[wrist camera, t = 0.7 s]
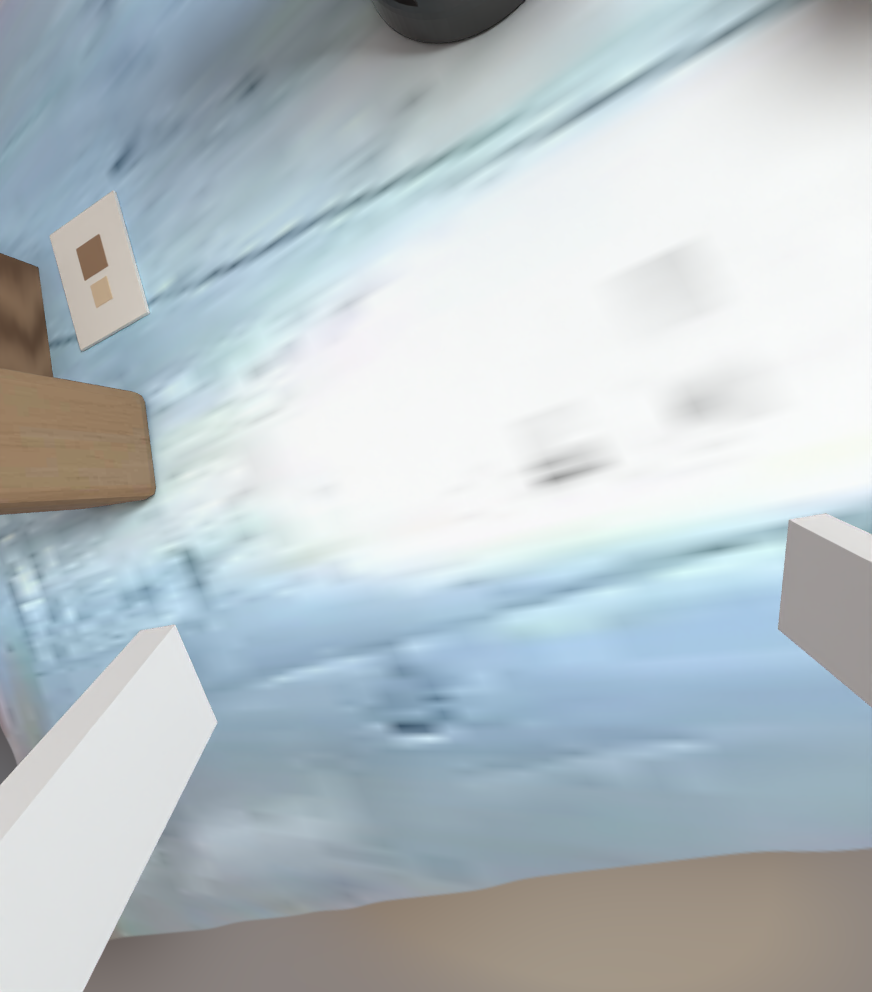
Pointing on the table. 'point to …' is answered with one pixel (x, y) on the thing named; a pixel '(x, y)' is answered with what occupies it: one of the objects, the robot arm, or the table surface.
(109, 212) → the page
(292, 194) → the table surface
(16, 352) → the base brick
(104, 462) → the wooden block
